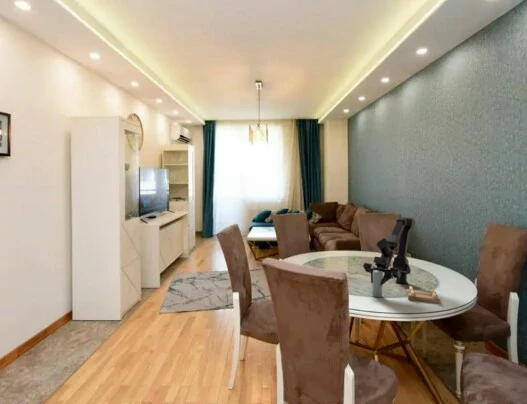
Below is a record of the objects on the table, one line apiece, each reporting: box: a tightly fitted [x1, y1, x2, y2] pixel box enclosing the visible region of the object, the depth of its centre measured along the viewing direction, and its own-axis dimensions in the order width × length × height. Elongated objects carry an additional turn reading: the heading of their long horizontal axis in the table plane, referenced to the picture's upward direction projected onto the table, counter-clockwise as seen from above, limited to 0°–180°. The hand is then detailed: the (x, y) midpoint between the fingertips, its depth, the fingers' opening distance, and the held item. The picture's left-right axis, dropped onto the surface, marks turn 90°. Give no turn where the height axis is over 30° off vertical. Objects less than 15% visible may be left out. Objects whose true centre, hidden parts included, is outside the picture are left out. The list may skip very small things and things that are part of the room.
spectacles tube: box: [371, 270, 384, 298], centre depth 169 cm, size 5×5×13 cm
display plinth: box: [405, 285, 440, 304], centre depth 167 cm, size 12×14×4 cm
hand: (376, 283), depth 168 cm, fingers closed on spectacles tube, 5 cm apart
